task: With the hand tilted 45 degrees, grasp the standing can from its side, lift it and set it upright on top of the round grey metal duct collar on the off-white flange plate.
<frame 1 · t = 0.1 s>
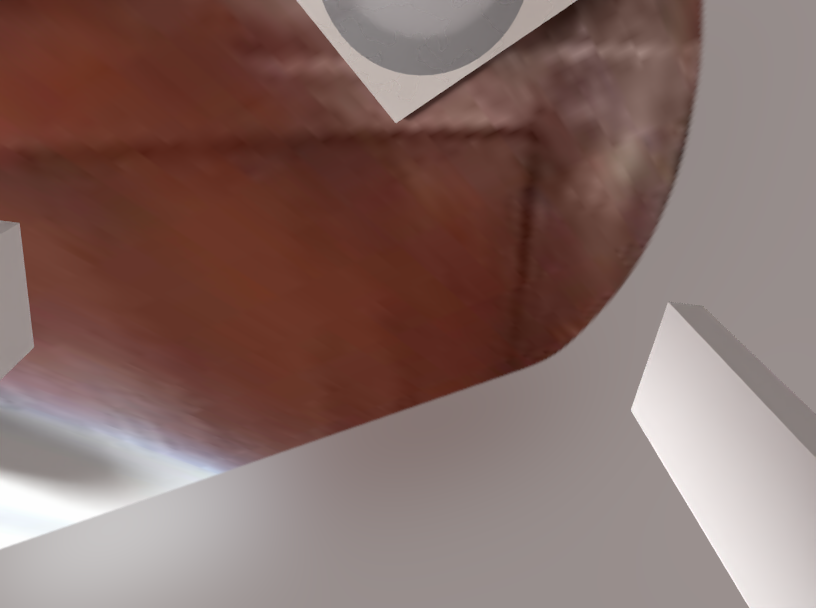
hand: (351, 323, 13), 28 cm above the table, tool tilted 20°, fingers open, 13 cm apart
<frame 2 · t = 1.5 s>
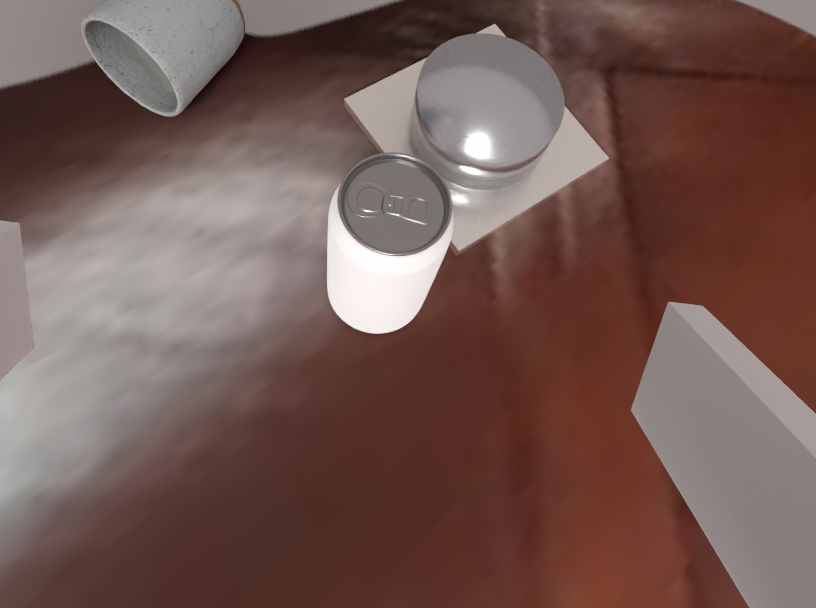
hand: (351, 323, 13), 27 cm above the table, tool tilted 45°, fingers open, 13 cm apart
can: (375, 289, 42), on the table
duct collar: (475, 135, 47), on the table
ceramic mug: (164, 66, 46), on the table
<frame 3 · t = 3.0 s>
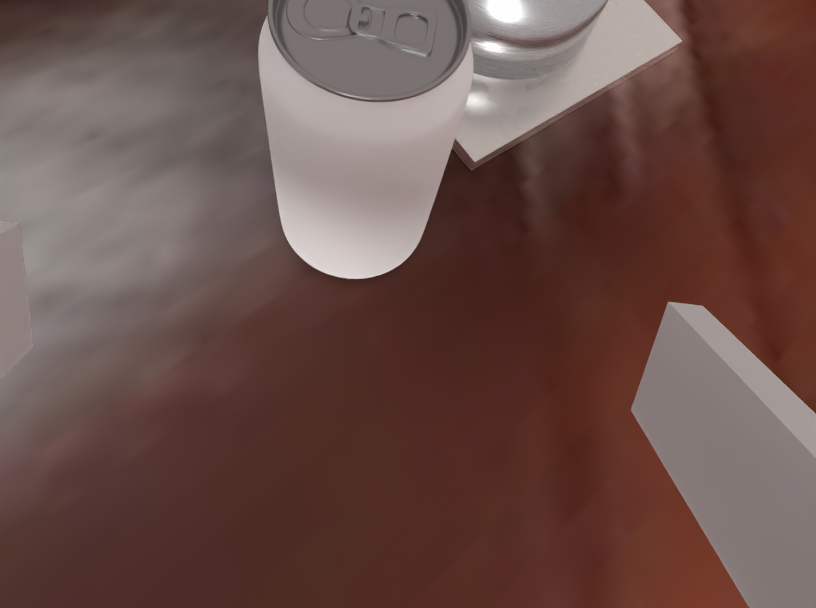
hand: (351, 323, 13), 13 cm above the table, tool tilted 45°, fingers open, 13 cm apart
can: (353, 218, 29), on the table
duct collar: (494, 11, 34), on the table
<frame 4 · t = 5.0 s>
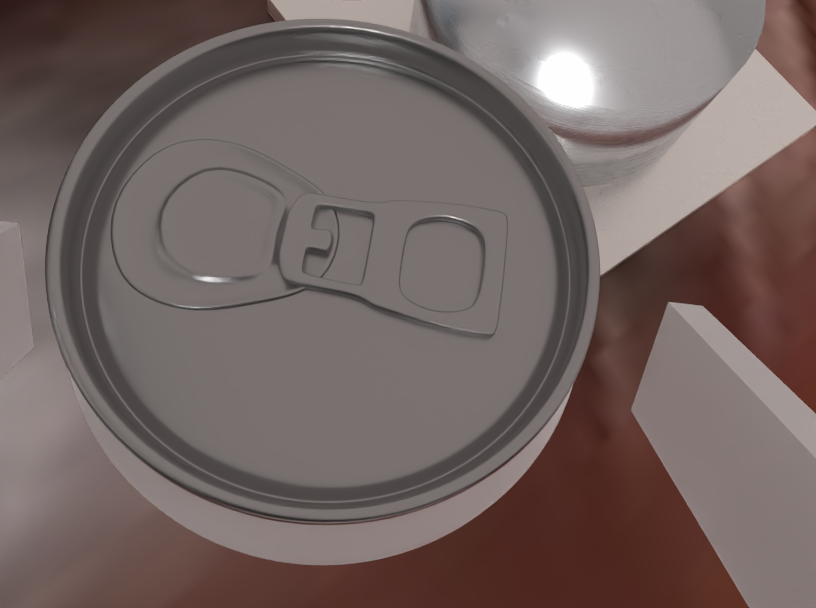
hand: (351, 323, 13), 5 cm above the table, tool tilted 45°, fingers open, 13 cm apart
can: (329, 423, 18), on the table
duct collar: (544, 74, 23), on the table
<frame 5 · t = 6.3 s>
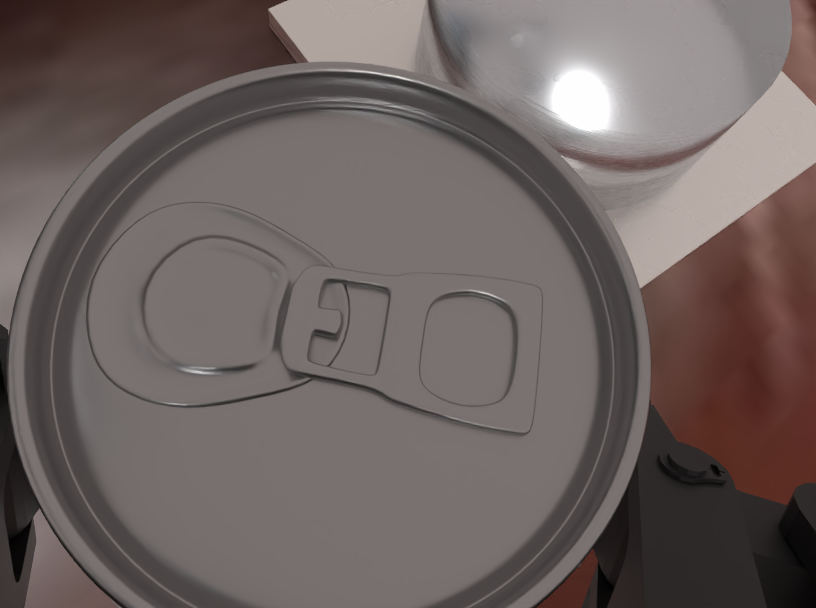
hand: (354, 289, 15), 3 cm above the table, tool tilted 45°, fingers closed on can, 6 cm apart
can: (333, 462, 17), on the table, touching gripper
duct collar: (557, 91, 22), on the table
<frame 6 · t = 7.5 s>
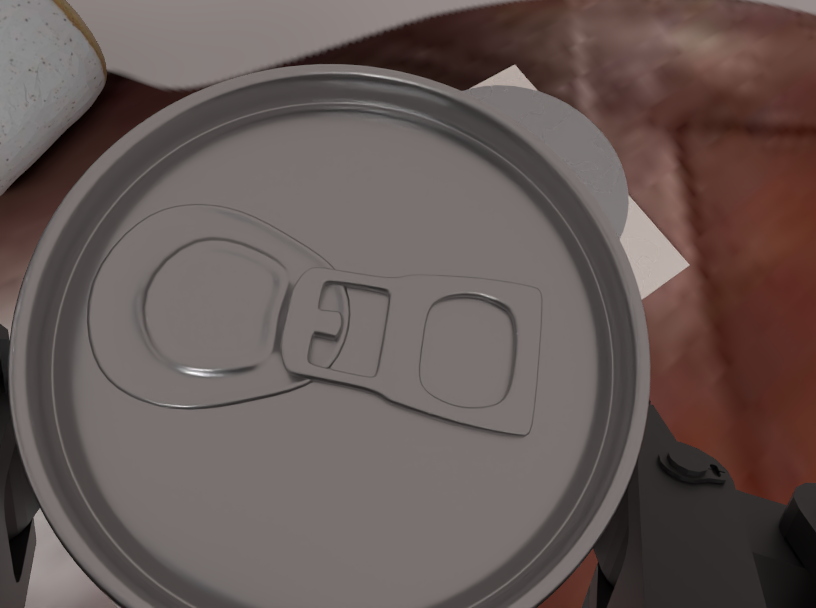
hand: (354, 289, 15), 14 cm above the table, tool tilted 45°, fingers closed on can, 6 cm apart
can: (333, 463, 17), point 10 cm above the table, touching gripper
duct collar: (489, 232, 32), on the table
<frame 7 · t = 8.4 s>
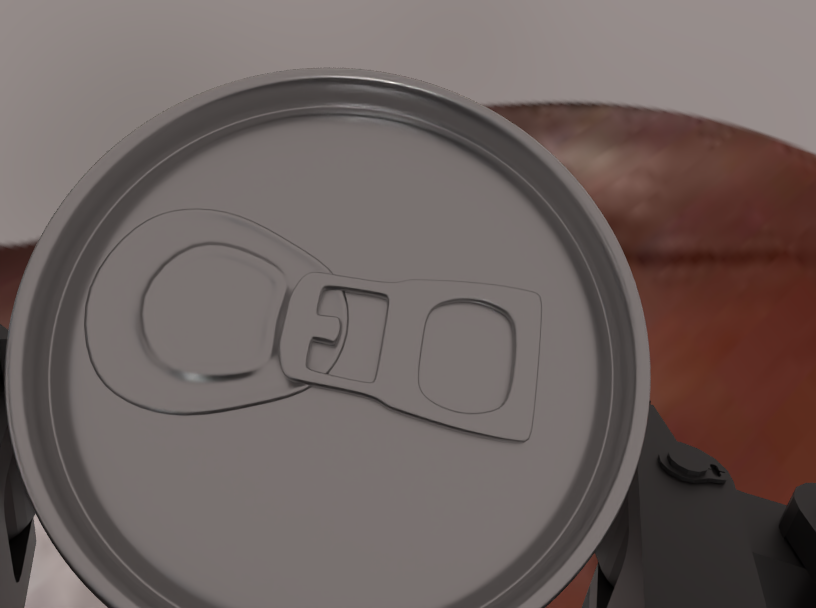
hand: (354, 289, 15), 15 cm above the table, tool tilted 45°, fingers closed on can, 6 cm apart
can: (333, 465, 17), point 12 cm above the table, touching gripper
when the fingers open (9 cm above the table, at t = 10.4 s): can drops 1 cm, resting on duct collar.
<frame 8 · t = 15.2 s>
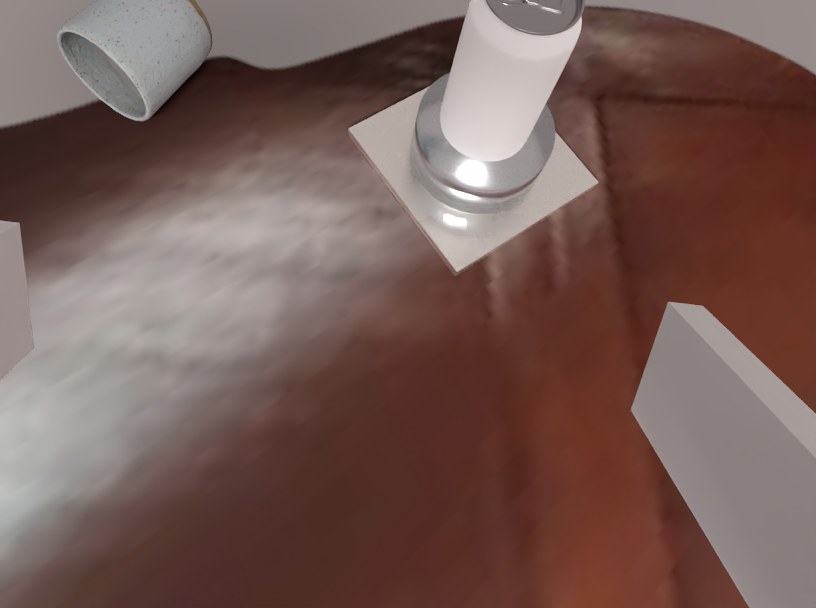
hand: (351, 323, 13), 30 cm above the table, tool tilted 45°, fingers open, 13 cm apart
can: (482, 127, 46), point 5 cm above the table, touching duct collar
duct collar: (472, 161, 50), on the table
ceramic mug: (137, 74, 49), on the table
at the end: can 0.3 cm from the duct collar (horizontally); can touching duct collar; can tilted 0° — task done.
